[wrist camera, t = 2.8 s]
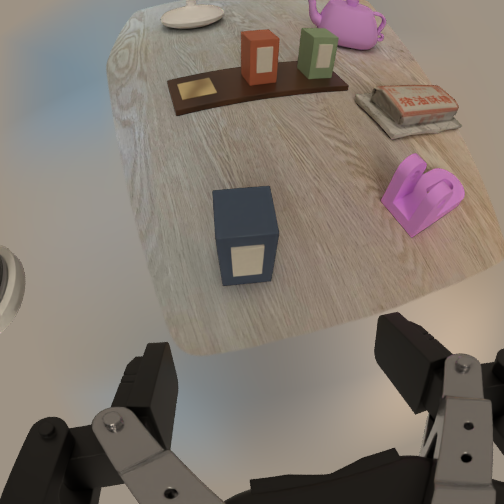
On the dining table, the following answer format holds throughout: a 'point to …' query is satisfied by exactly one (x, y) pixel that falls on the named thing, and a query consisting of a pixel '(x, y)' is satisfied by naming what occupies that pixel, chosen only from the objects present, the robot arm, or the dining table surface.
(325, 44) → the green block
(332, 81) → the brown board
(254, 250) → the navy box with label
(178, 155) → the dining table surface
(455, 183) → the bracket
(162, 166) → the dining table surface
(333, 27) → the teapot
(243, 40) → the orange block
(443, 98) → the packaged product
